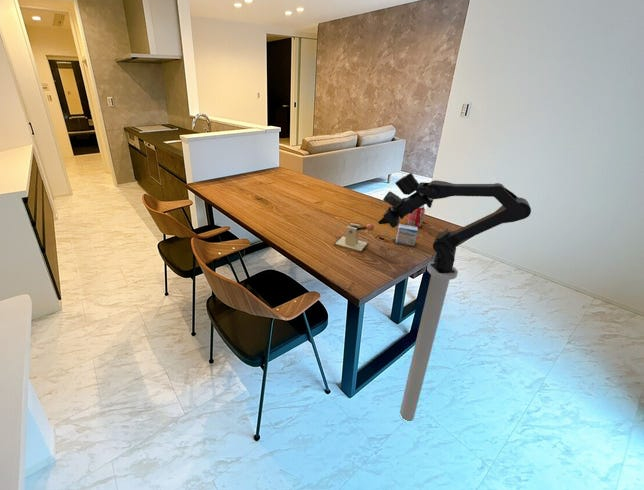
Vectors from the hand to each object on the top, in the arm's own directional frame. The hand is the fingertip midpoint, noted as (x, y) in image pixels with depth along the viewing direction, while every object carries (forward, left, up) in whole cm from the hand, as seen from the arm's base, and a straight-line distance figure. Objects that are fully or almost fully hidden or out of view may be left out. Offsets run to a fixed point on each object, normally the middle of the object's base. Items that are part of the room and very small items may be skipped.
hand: (378, 223), depth 125 cm
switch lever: (+4, +5, -6) cm, 8 cm away
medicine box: (+6, -17, -14) cm, 22 cm away
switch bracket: (+7, +8, -14) cm, 17 cm away
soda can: (+24, -31, -14) cm, 41 cm away
